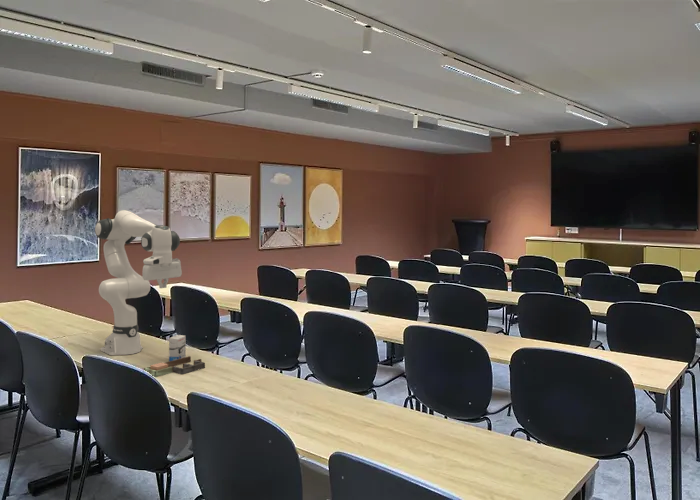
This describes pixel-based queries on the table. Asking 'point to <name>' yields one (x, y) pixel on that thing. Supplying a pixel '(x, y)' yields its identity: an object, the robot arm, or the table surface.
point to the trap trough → (173, 368)
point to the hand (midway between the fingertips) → (162, 288)
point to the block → (159, 366)
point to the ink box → (177, 347)
